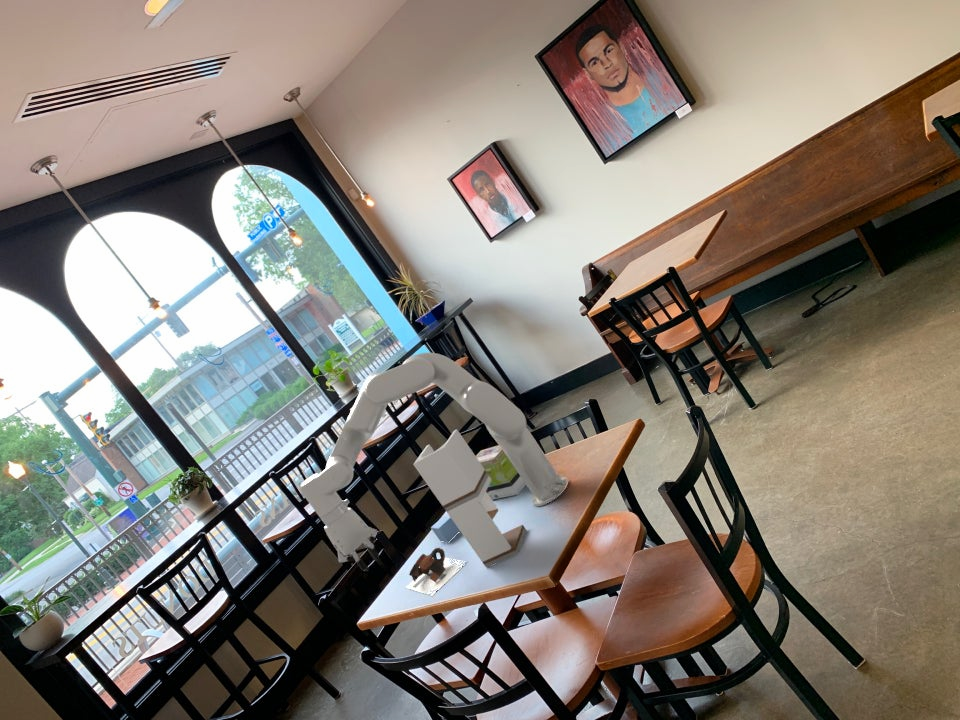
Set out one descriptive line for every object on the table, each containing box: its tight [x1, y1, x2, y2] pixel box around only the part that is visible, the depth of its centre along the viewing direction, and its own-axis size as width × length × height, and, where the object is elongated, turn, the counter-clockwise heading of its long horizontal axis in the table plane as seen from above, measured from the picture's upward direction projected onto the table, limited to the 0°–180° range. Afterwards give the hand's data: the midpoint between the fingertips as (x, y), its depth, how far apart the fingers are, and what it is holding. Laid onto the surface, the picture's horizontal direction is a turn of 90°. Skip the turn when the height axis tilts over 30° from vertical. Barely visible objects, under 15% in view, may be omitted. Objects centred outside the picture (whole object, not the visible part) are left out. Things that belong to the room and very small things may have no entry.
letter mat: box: [405, 557, 466, 597], centre depth 214 cm, size 20×14×1 cm
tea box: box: [475, 444, 527, 501], centre depth 240 cm, size 15×10×15 cm, turn 49°
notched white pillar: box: [413, 429, 527, 568], centre depth 198 cm, size 11×11×35 cm
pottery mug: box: [408, 547, 446, 582], centre depth 214 cm, size 12×10×8 cm
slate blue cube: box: [430, 515, 461, 543], centre depth 235 cm, size 6×6×6 cm
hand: (372, 564), depth 206 cm, fingers open, 3 cm apart
